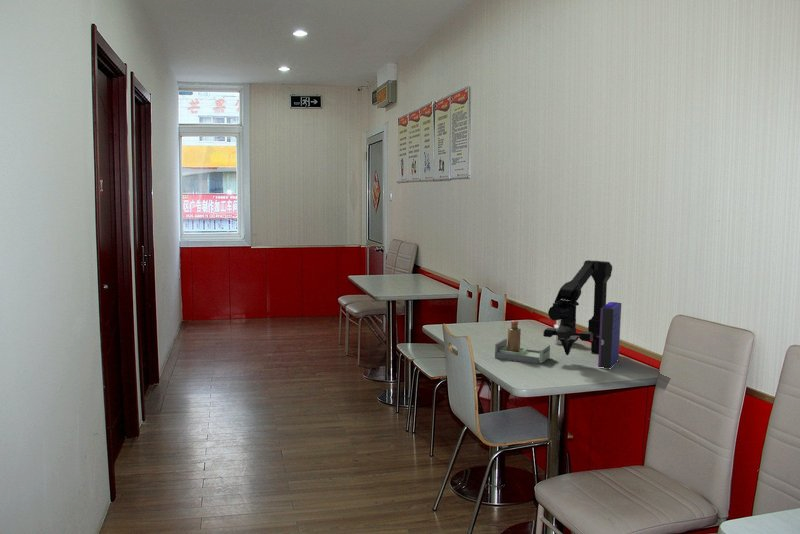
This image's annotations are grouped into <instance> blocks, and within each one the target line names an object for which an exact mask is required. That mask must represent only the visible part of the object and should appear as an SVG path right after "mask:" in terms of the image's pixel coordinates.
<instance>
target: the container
mask: <svg viewBox="0 0 800 534" xmlns="http://www.w3.org/2000/svg"><path fill="white" fill-rule="evenodd" d="M560 322H561V319H560V320H556V323H555V324H553V328H556V330H558V328H559V326H560ZM568 340H569V339H568ZM553 342H554V343H555V345H562V343H561V341H560V340H558V335H553Z"/></svg>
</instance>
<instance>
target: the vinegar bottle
mask: <svg viewBox="0 0 800 534" xmlns="http://www.w3.org/2000/svg"><path fill="white" fill-rule="evenodd" d="M510 325H511V327H508V328H507V351H512V352H520V348H521V335H522V334H521V328H519V327H518V326H519V321H518V320H510Z"/></svg>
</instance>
